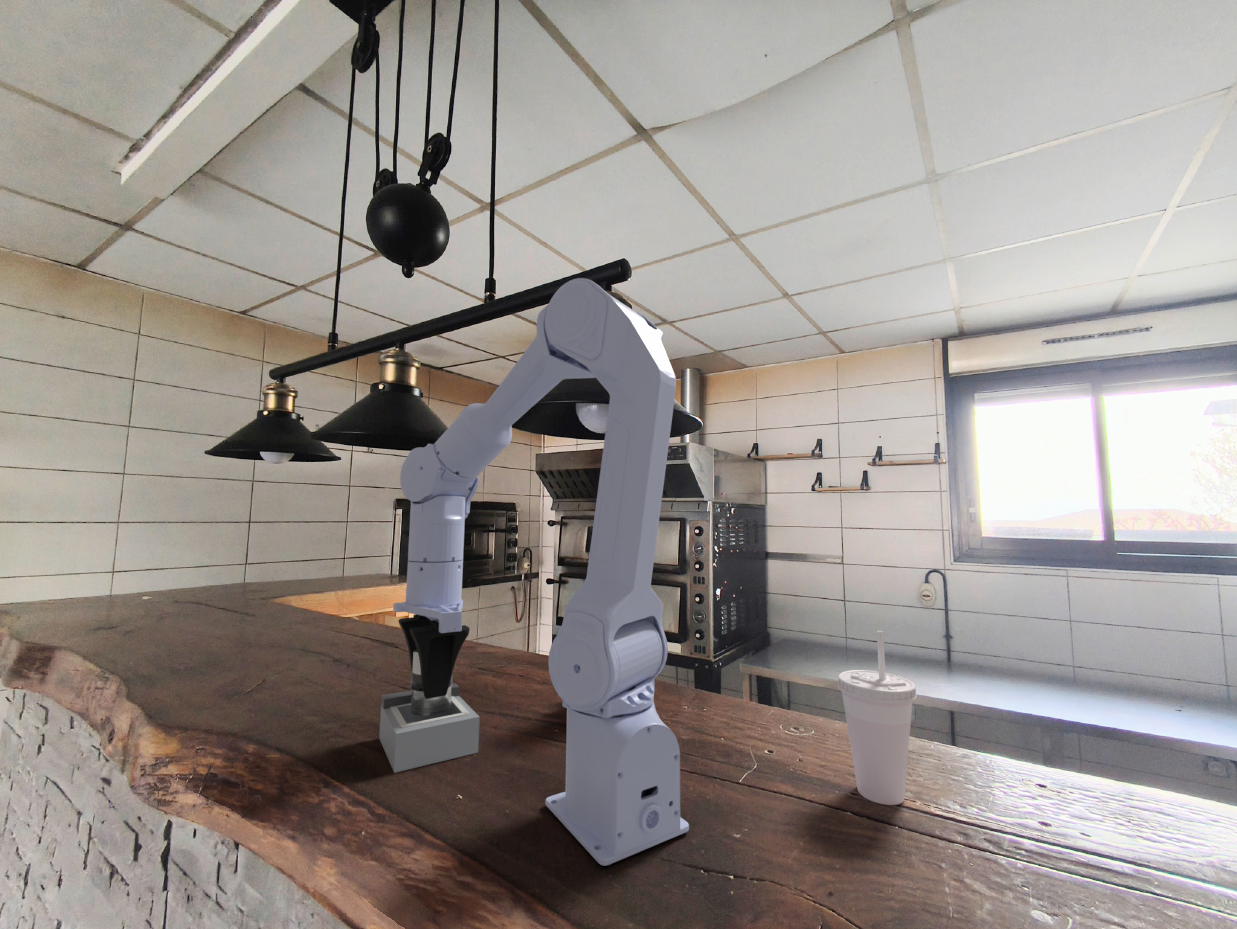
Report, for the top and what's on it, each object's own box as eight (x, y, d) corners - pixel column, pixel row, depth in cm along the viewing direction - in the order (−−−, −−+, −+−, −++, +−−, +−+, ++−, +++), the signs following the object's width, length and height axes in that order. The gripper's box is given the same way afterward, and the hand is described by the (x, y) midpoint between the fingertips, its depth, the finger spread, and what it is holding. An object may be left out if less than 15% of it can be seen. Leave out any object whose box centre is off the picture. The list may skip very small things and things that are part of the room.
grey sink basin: (478, 752, 52) (480, 701, 53) (394, 772, 48) (397, 717, 49) (453, 722, 60) (455, 678, 60) (379, 738, 56) (381, 690, 56)
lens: (454, 711, 54) (457, 650, 54) (411, 718, 52) (414, 655, 52) (448, 700, 57) (450, 643, 58) (407, 706, 55) (410, 647, 56)
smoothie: (921, 823, 41) (912, 642, 42) (835, 799, 44) (829, 632, 46) (923, 787, 46) (915, 628, 48) (846, 769, 50) (841, 620, 51)
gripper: (385, 557, 60) (378, 677, 58) (411, 567, 48) (403, 719, 46) (446, 555, 64) (441, 668, 62) (484, 564, 52) (479, 705, 50)
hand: (429, 689), depth 55 cm, fingers closed on lens, 4 cm apart
